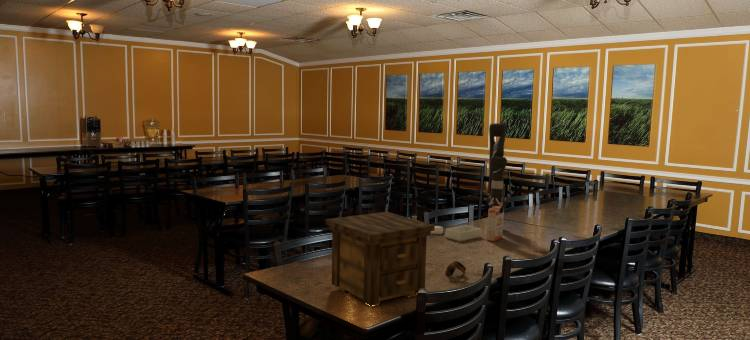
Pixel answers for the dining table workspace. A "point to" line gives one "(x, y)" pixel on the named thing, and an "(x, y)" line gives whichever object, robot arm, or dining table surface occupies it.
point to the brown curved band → (453, 266)
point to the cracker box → (495, 224)
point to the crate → (378, 255)
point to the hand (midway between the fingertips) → (495, 212)
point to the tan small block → (437, 230)
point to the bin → (463, 233)
